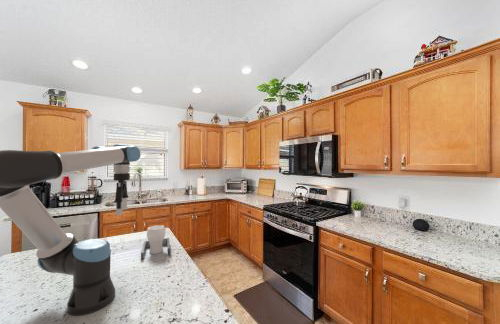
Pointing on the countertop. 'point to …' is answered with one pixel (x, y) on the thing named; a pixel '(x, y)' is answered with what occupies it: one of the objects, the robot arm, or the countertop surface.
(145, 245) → the channel
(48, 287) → the countertop surface
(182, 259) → the countertop surface
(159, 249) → the cup
